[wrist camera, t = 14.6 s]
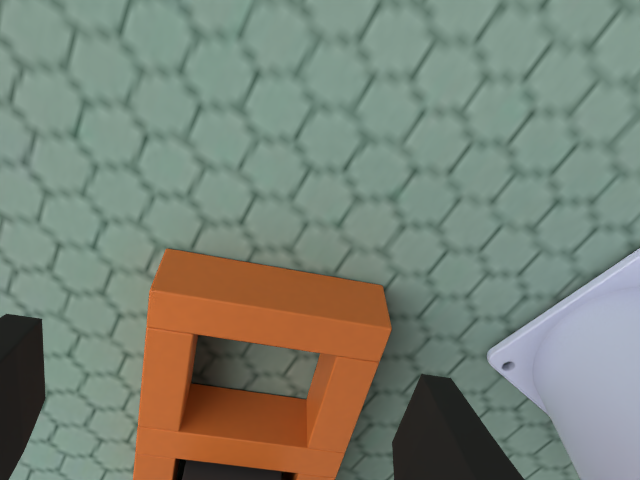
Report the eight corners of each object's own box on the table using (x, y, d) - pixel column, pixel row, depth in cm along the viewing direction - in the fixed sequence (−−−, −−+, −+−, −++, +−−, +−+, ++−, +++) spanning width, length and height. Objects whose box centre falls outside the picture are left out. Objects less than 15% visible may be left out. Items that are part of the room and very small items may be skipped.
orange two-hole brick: (166, 247, 20) (149, 290, 18) (383, 284, 21) (392, 329, 19) (140, 495, 27) (126, 547, 25) (303, 513, 29) (303, 564, 26)
